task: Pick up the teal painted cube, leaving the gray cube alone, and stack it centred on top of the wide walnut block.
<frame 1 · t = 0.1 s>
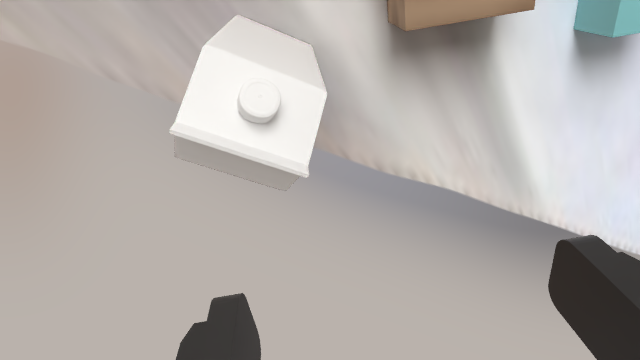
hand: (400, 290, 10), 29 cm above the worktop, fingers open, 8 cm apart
milk carton: (263, 66, 35), on the worktop
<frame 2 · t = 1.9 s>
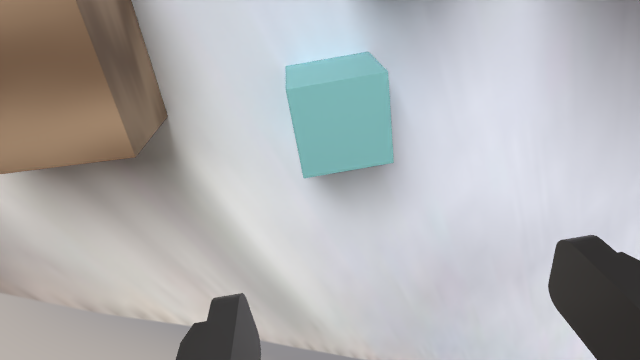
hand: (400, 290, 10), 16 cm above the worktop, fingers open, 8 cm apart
teal cube: (332, 98, 24), on the worktop
walnut base block: (52, 41, 21), on the worktop
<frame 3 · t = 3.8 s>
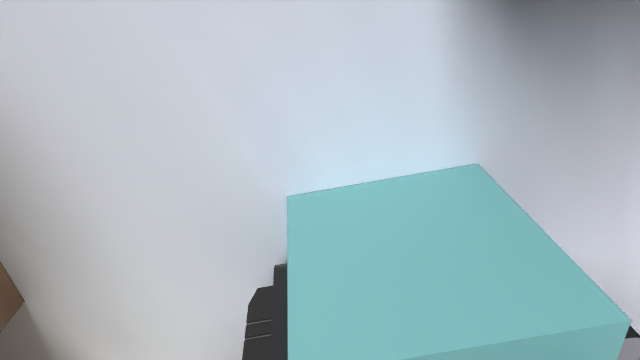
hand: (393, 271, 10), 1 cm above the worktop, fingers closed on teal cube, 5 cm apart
teal cube: (388, 253, 11), on the worktop, touching gripper
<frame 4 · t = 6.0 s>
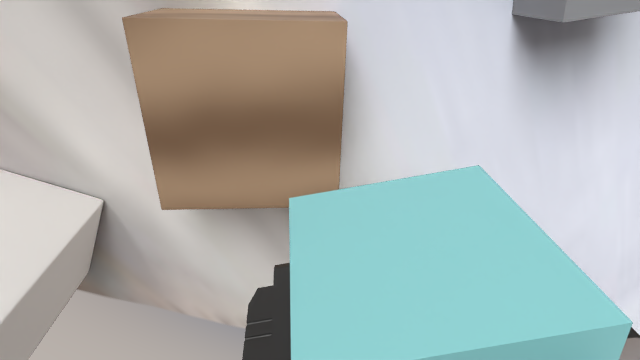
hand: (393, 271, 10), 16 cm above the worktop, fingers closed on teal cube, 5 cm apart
teal cube: (389, 254, 11), point 16 cm above the worktop, touching gripper
milk carton: (48, 220, 28), on the worktop
walnut base block: (254, 93, 25), on the worktop
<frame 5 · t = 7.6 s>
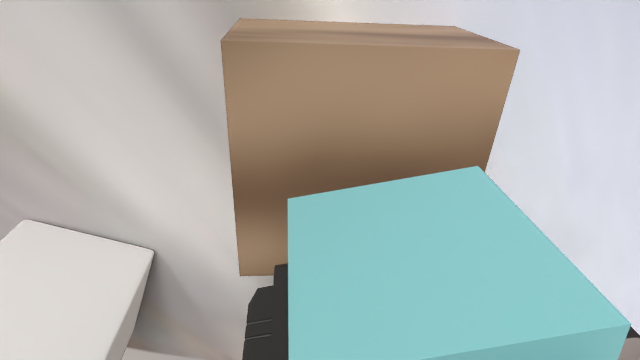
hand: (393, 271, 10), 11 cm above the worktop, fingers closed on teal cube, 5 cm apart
teal cube: (388, 255, 11), point 10 cm above the worktop, touching gripper
milk carton: (87, 274, 24), on the worktop
walnut base block: (341, 123, 20), on the worktop
when the fingers open (8 cm above the worktop, at t = 8.6 s): teal cube drops 2 cm, resting on walnut base block.
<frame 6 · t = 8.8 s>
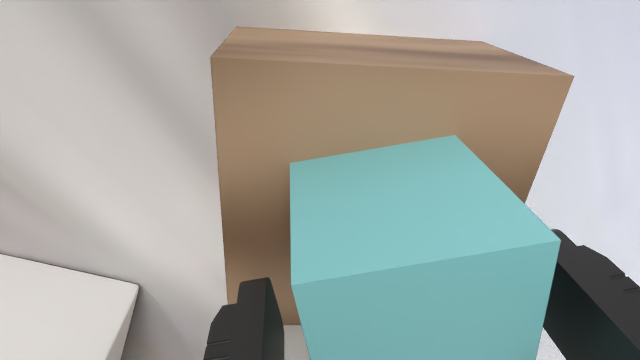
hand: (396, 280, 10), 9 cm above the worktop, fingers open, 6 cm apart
teal cube: (378, 216, 13), point 6 cm above the worktop, touching walnut base block
milk carton: (65, 309, 21), on the worktop
walnut base block: (349, 146, 18), on the worktop, touching teal cube
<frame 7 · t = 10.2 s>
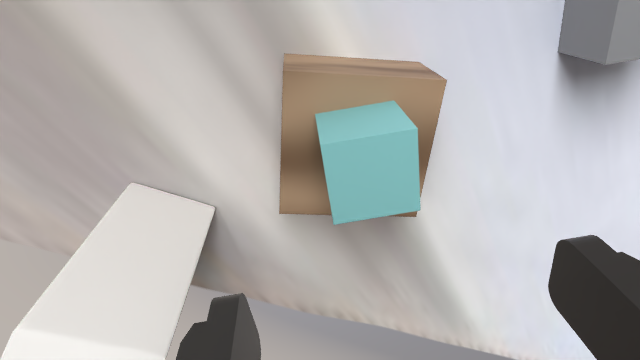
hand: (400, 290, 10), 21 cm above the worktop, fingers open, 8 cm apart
gray cube: (596, 10, 27), on the worktop
teal cube: (358, 143, 25), point 6 cm above the worktop
milk carton: (166, 224, 34), on the worktop
walnut base block: (345, 121, 30), on the worktop
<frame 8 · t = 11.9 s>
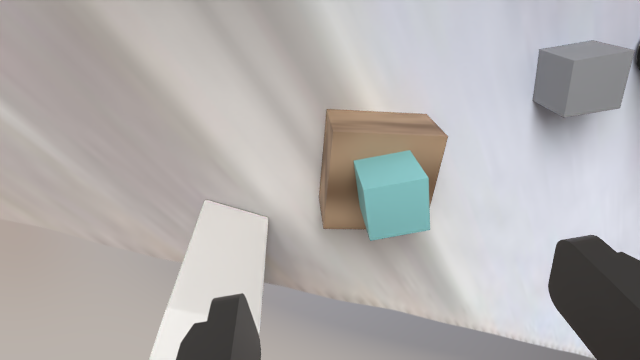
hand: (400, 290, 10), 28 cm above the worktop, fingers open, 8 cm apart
gray cube: (561, 71, 37), on the worktop
teal cube: (383, 179, 34), point 6 cm above the worktop, touching walnut base block
milk carton: (228, 231, 43), on the worktop
walnut base block: (369, 156, 40), on the worktop, touching teal cube
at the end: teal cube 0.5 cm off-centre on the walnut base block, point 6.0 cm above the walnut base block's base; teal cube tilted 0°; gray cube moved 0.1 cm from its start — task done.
